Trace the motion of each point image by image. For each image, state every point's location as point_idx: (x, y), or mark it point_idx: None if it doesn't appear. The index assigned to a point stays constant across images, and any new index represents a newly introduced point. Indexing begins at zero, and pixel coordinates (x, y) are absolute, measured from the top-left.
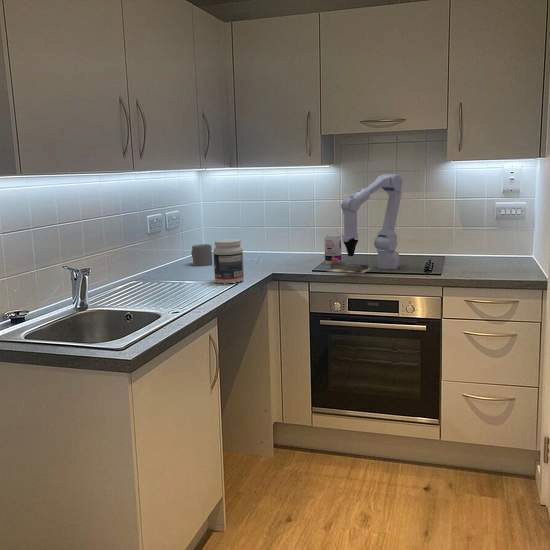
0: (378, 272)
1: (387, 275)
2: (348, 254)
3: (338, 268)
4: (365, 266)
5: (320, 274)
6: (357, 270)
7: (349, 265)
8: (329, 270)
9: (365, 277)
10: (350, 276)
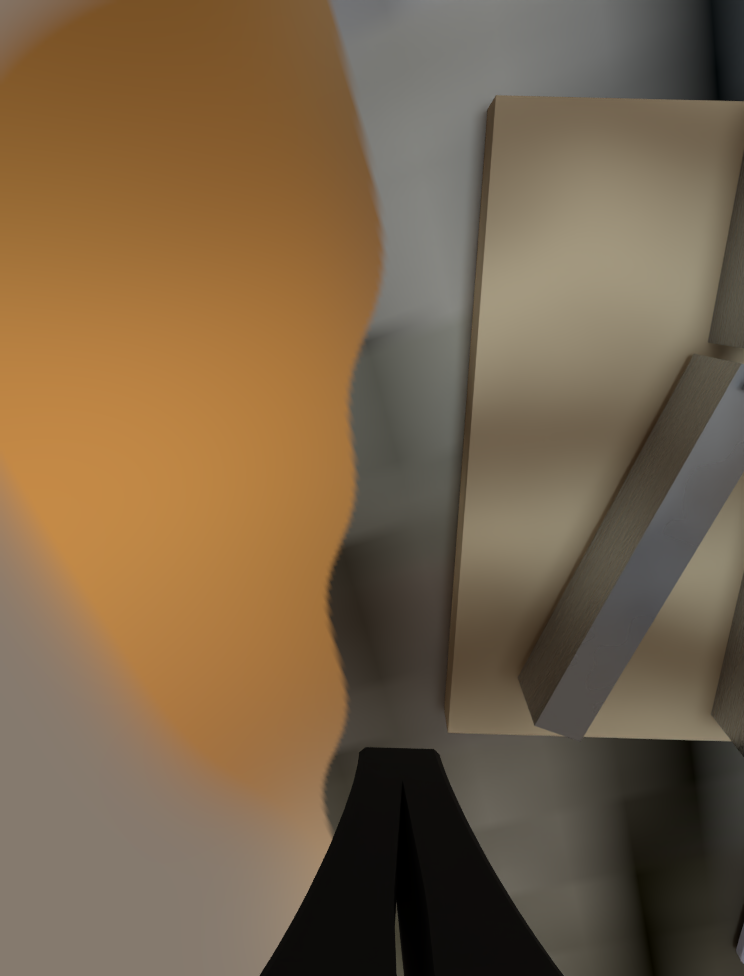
0: (698, 809)
1: None
2: (356, 787)
3: (726, 279)
4: (740, 726)
5: (391, 32)
6: (536, 648)
7: (637, 538)
8: (565, 151)
9: (336, 757)
10: (349, 576)
